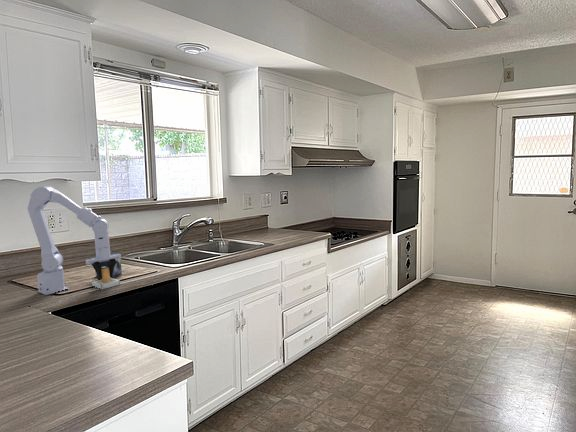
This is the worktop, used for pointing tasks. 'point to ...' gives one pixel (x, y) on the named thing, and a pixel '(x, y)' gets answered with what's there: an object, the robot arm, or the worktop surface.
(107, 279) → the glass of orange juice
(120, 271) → the small box
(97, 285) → the tray
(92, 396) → the worktop surface
